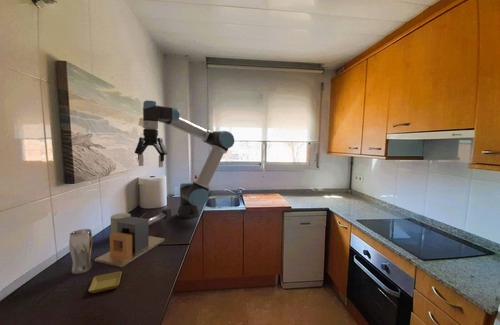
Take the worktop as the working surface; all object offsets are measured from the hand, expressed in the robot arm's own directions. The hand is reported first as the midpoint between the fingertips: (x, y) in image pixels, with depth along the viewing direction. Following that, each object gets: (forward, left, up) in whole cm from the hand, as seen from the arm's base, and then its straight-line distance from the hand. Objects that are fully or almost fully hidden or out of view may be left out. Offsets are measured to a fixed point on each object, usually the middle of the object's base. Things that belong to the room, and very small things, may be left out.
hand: (150, 166), depth 122 cm
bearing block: (+23, +10, -37) cm, 44 cm away
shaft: (+11, +10, -29) cm, 33 cm away
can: (+14, -7, -37) cm, 40 cm away
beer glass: (+42, +4, -37) cm, 56 cm away
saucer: (+46, +21, -37) cm, 63 cm away
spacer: (+30, +10, -36) cm, 48 cm away
